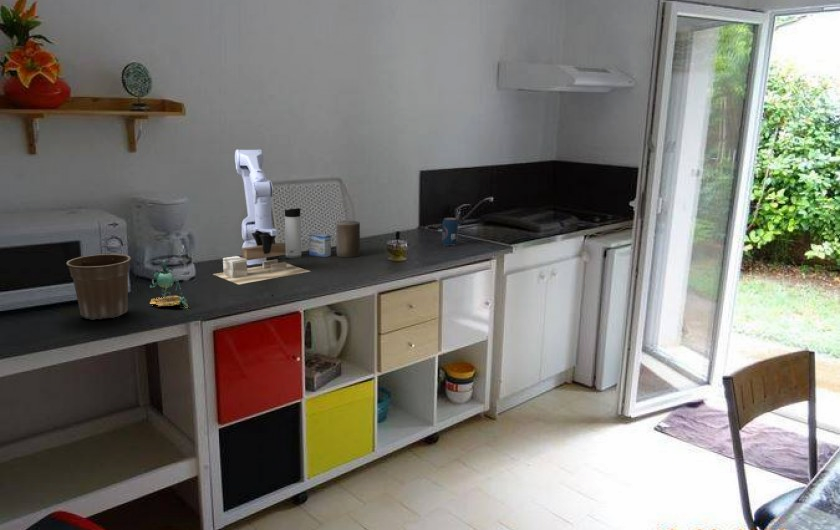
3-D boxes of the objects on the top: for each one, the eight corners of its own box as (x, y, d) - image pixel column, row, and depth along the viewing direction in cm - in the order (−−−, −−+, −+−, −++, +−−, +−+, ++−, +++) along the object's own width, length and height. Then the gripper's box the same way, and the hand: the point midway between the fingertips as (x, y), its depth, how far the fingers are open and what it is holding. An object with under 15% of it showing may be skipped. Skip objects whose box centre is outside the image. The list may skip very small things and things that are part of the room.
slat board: (212, 276, 234) (211, 257, 232) (283, 265, 254) (283, 247, 252) (238, 287, 222) (237, 266, 220) (310, 273, 241) (310, 255, 240)
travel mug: (293, 259, 264) (292, 209, 259) (282, 257, 267) (281, 207, 263) (305, 256, 268) (304, 207, 264) (294, 254, 272) (293, 206, 268)
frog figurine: (165, 315, 191) (158, 264, 189) (141, 308, 204) (135, 260, 202) (197, 308, 198) (191, 259, 195) (172, 301, 211) (166, 255, 208)
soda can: (439, 243, 300) (439, 217, 298) (452, 242, 303) (453, 216, 301) (446, 246, 294) (446, 220, 292) (459, 245, 297) (460, 219, 295)
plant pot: (59, 321, 183) (52, 264, 179) (94, 305, 199) (89, 252, 195) (114, 325, 181) (109, 267, 177) (145, 308, 197) (141, 255, 193)
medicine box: (308, 255, 272) (308, 234, 270) (315, 253, 276) (315, 232, 274) (324, 257, 268) (324, 236, 266) (331, 255, 272) (331, 234, 270)
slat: (242, 259, 235) (242, 247, 234) (281, 253, 246) (281, 242, 245) (246, 260, 233) (246, 249, 232) (285, 254, 244) (285, 243, 243)
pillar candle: (362, 257, 271) (363, 220, 267) (339, 258, 267) (339, 221, 264) (356, 252, 279) (356, 216, 276) (333, 253, 276) (333, 217, 272)
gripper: (242, 213, 239) (244, 250, 242) (264, 219, 228) (265, 257, 232) (259, 212, 243) (261, 248, 246) (281, 217, 233) (282, 254, 236)
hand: (264, 252), depth 239 cm, fingers closed on slat, 3 cm apart
